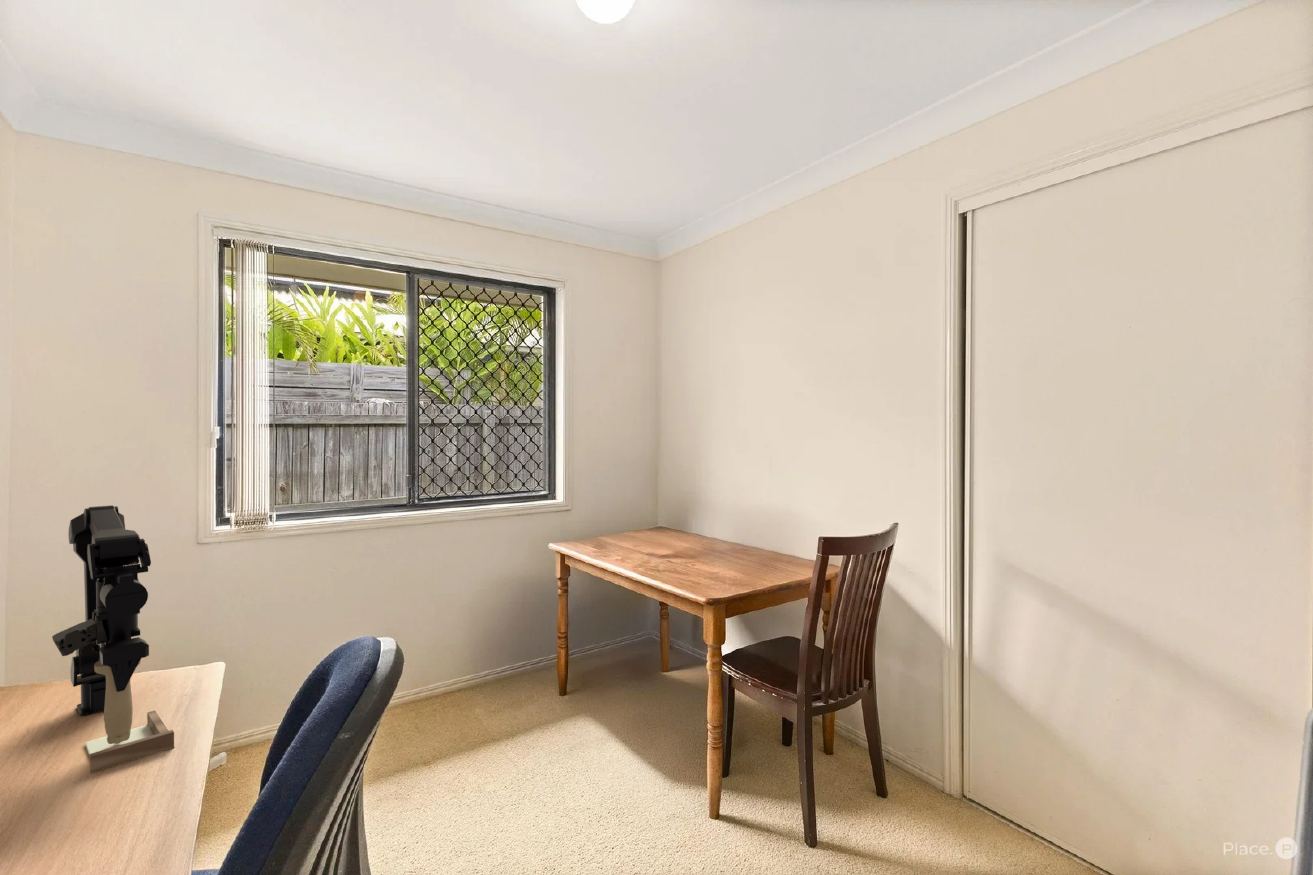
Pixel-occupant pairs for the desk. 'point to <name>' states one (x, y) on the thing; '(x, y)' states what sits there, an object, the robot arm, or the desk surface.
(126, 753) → the walls
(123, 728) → the handle
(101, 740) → the pad
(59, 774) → the desk surface
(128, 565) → the robot arm
